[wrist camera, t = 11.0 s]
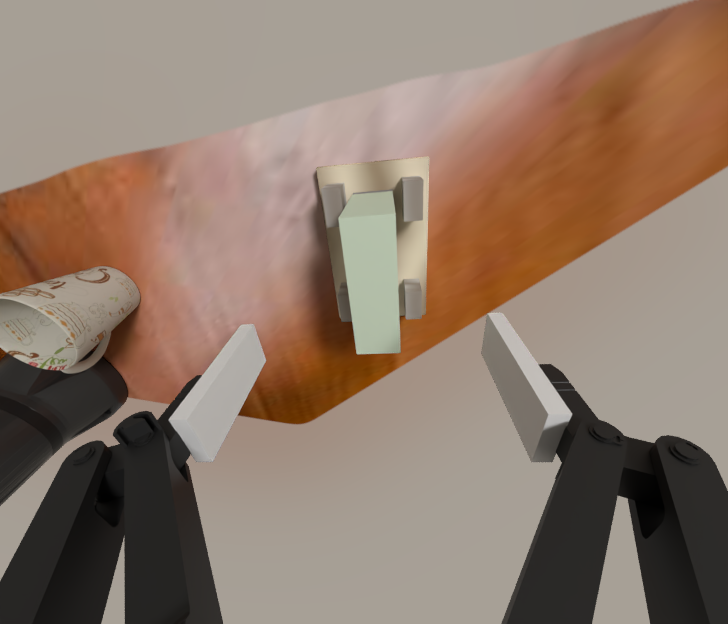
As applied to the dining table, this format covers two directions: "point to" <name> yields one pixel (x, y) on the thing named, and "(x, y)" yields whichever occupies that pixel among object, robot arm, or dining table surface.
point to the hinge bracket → (411, 223)
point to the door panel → (372, 270)
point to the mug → (66, 318)
